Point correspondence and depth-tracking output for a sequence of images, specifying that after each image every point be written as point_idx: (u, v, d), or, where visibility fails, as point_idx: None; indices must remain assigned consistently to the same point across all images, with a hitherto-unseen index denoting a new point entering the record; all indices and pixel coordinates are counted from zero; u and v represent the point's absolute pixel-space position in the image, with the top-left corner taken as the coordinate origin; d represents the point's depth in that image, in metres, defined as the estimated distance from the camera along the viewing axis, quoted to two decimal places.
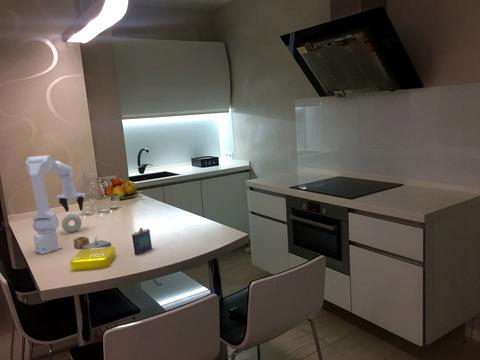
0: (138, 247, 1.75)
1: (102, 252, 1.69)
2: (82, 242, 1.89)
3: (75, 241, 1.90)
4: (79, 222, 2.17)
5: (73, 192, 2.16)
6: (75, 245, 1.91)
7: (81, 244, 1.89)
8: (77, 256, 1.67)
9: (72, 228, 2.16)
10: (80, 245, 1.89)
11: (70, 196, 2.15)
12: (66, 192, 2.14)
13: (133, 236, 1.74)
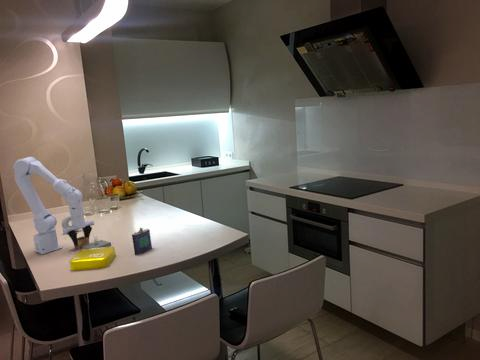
0: (138, 247, 1.75)
1: (102, 252, 1.69)
2: (82, 242, 1.89)
3: None
4: None
5: None
6: None
7: (81, 244, 1.89)
8: (77, 256, 1.67)
9: None
10: (80, 245, 1.89)
11: None
12: None
13: (133, 236, 1.74)
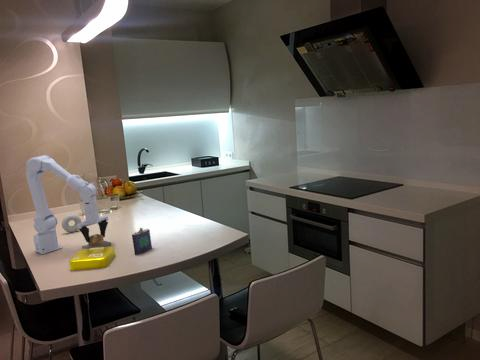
0: (138, 247, 1.75)
1: (101, 252, 1.70)
2: (96, 240, 1.86)
3: None
4: (79, 222, 2.17)
5: None
6: (89, 243, 1.87)
7: (95, 242, 1.86)
8: (76, 256, 1.67)
9: (72, 228, 2.16)
10: (94, 242, 1.85)
11: None
12: None
13: (133, 236, 1.74)
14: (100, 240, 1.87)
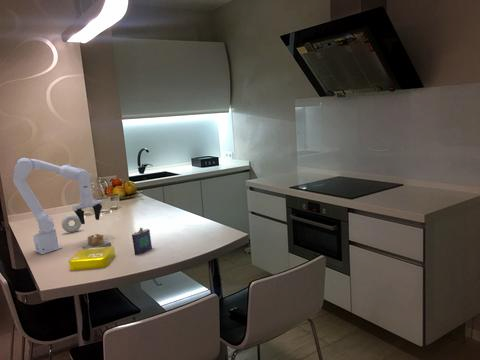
0: (138, 247, 1.75)
1: (101, 252, 1.70)
2: (96, 240, 1.86)
3: (89, 239, 1.87)
4: (79, 222, 2.17)
5: None
6: (89, 243, 1.87)
7: (95, 242, 1.86)
8: (76, 256, 1.68)
9: (72, 228, 2.16)
10: (94, 242, 1.85)
11: None
12: None
13: (133, 236, 1.74)
14: (100, 240, 1.87)
